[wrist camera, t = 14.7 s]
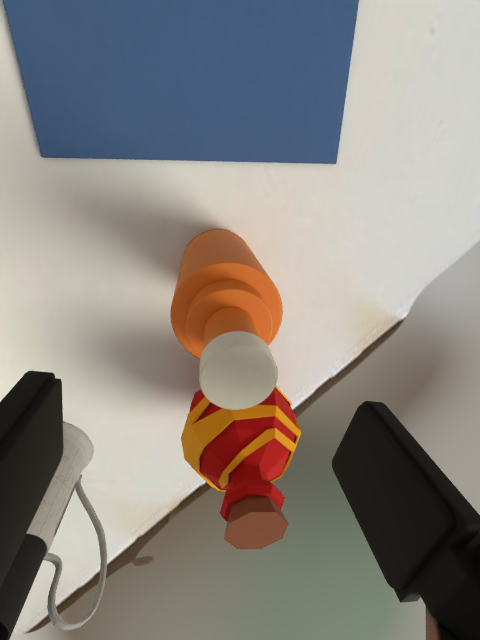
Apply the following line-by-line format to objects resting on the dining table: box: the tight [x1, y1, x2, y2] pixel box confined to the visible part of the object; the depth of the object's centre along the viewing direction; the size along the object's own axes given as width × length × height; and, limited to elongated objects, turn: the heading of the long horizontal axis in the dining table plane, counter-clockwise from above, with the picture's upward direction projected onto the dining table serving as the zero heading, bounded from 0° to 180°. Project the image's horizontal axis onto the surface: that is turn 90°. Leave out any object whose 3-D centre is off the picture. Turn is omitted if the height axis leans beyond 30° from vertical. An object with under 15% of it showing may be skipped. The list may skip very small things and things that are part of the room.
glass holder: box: [0, 422, 107, 640], centre depth 27 cm, size 9×14×15 cm, turn 48°
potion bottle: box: [181, 385, 301, 549], centre depth 25 cm, size 10×10×15 cm
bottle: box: [171, 229, 283, 410], centre depth 18 cm, size 6×6×17 cm
